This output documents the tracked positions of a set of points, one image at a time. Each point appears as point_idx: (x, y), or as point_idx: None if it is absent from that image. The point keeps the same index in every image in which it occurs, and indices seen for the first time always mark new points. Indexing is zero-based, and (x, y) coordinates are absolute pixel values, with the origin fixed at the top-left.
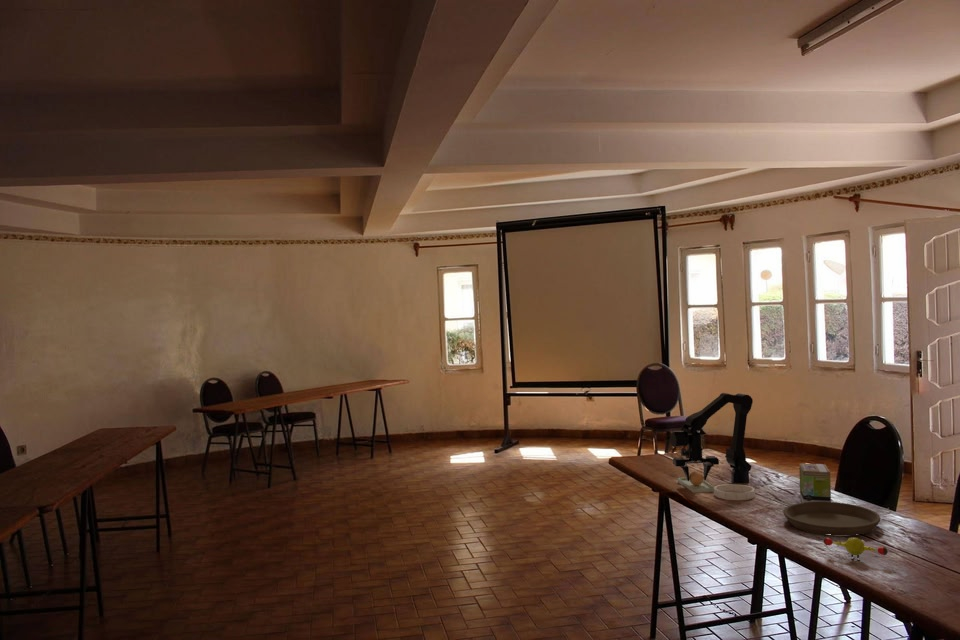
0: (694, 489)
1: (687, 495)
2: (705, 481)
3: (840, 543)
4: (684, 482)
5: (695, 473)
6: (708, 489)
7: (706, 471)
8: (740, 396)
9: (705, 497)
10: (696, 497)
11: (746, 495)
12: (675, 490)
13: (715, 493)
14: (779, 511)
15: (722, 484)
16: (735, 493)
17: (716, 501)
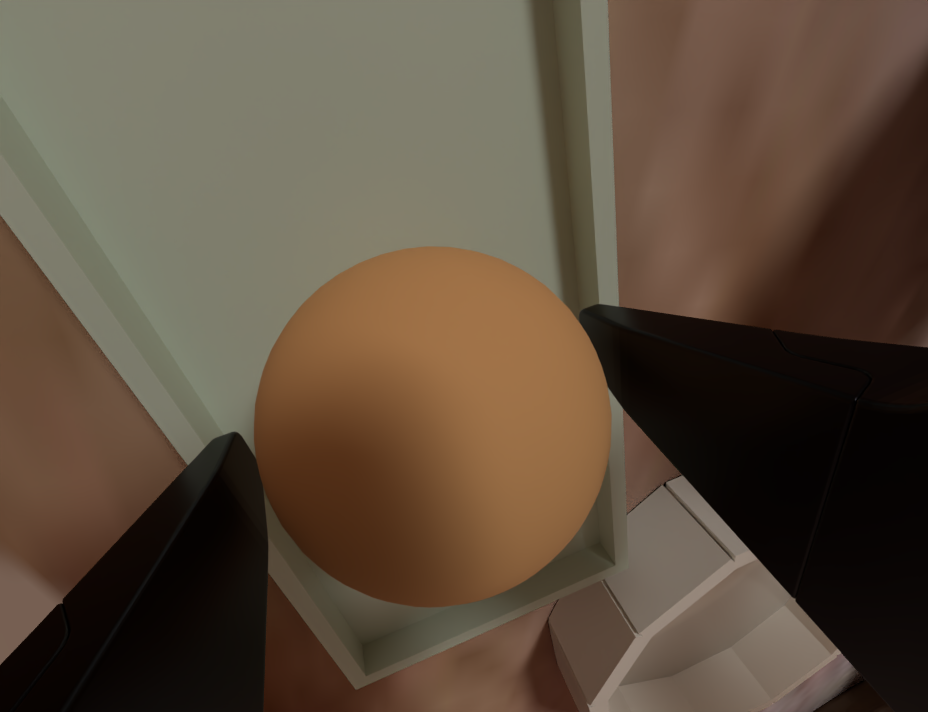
0: (376, 675)
1: (289, 675)
2: (598, 211)
3: None
4: (133, 363)
5: (454, 603)
6: (539, 601)
7: (757, 551)
8: None
9: (470, 661)
10: (388, 690)
11: (757, 681)
12: (48, 554)
13: (572, 685)
14: (778, 700)
15: (729, 563)
16: None
17: (537, 704)
